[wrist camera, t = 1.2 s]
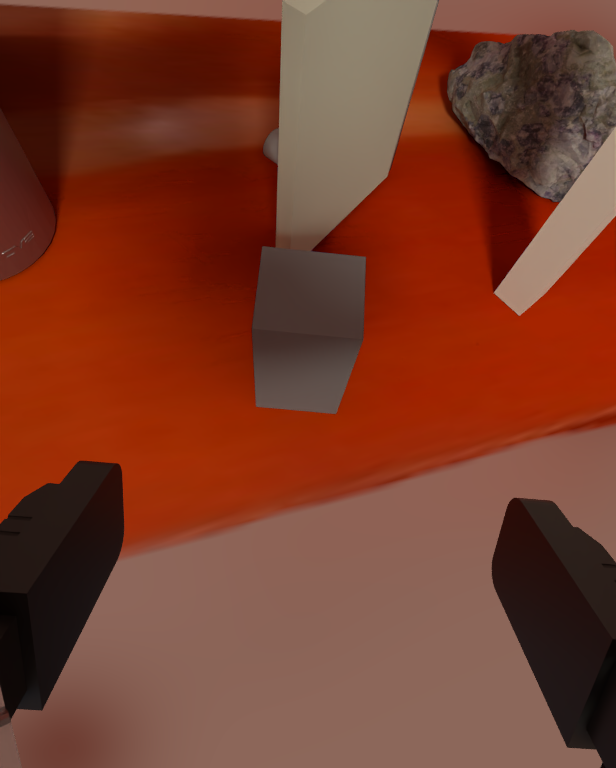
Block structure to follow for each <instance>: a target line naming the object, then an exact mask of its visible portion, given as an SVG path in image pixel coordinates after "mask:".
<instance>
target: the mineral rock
mask: <svg viewBox="0 0 616 768" xmlns="http://www.w3.org/2000/svg"><path fill="white" fill-rule="evenodd" d="M447 93H448V97H449V100H450V102H451V103H452V110H453V112H454V113H455V114H456V115H457V117H458V119H459V120H460V121H461V123H462V124H463V126H464V127H465V128H467V130H468V132H469V134H471V135H472V136H473V138H474V140H475V141H476V142H477V143H479V144H480V145H481V146H482V147H483V148H484V149H485V151H486V152H487V153H488V155H489V158H490V159H493V160H495V161H497V162H500V163H501V164H502V165H503V167H504V168H505V169H506V170H507V171H508V172H509V174H510V175H512V176H513V177H516V178H517V179H519V180H520V181H522V182H523V183H524V184H525V185H526V186H527V187H529V188H530V189H532V190H533V191H534V192H535V193H536V194H538V195H539V196H541V197H544V198H549V199H551V200H552V201H553V202H560V201H562V199H563V198H564V197H565V195H566V194H567V192H568V191H569V190H570V188H571V187H572V186H573V184H574V183H575V182H576V180H577V179H578V178H579V176H580V175H581V173H582V172H583V171H584V169H585V168H586V167H587V165H588V164H589V163H590V161H591V160H592V158H593V157H594V156H595V154H596V153H597V152H598V150H599V149H600V148H601V146H602V145H603V143H604V142H605V141H606V139H607V138H608V137H609V135H610V134H611V133H612V131H613V130H614V128H615V127H616V62H615V59H614V56H613V46H612V45H611V44H610V43H609V42H608V41H607V40H606V39H605V38H603V37H602V36H601V35H599V34H598V33H596V32H594V31H581V32H577V31H575V30H570V31H564V32H556V33H554V34H552V35H551V36H546V35H540V34H536V35H534V34H530V35H528V34H523V35H517V36H516V37H515V38H514V39H513V40H512V41H511V42H508V43H505V44H502V43H500V42H497V43H496V42H491V41H486V42H480V43H479V44H477V45H475V47H474V49H473V51H472V55H471V57H470V59H469V60H468V61H467V62H466V64H464V65H462V66H459V67H458V68H456V69H455V70H451V71H450V73H449V78H448V82H447Z"/></svg>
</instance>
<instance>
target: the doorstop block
mask: <svg viewBox="0 0 616 768" xmlns="http://www.w3.org/2000/svg"><path fill="white" fill-rule="evenodd" d="M365 269H366V257H361V256H351V255H342V254H332V253H322V252H313V251H303V250H293V249H284V248H274V247H264V246H262V253H261V261H260V269H259V277H258V285H257V293H256V300H255V308H254V316H253V324H252V340H253V358H254V377H255V395H256V407H267V408H278V409H289V410H300V411H311V412H322V413H333V414H336V412H337V410H338V407H339V404H340V401H341V399H342V396H343V393H344V390H345V388H346V385H347V382H348V380H349V377H350V374H351V371H352V369H353V366H354V363H355V361H356V358H357V355H358V352H359V350H360V347H361V344H362V341H363V331H364V300H365Z"/></svg>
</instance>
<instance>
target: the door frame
mask: <svg viewBox="0 0 616 768" xmlns="http://www.w3.org/2000/svg"><path fill="white" fill-rule="evenodd" d="M615 216H616V127H615V128H614V130H613V131H612V133H611V134H610V135H609V137H608V138H607V139H606V141H605V142H604V143H603V145H602V146H601V148H600V149H599V150H598V152H597V153H596V154H595V156H594V157H593V158H592V160H591V161H590V163H589V164H588V165H587V167H586V168H585V169H584V171H583V172H582V173H581V175H580V176H579V178H578V179H577V180H576V182H575V183H574V184H573V186H572V187H571V188H570V190H569V191H568V192H567V194H566V195H565V197H564V198H563V199H562V201H561V202H560V203H559V205H558V206H557V207H556V209H555V210H554V212H553V213H552V214H551V216H550V217H549V218H548V220H547V221H546V222H545V224H544V225H543V227H542V228H541V229H540V231H539V232H538V233H537V235H536V236H535V237H534V239H533V240H532V242H531V243H530V244H529V246H528V247H527V248H526V250H525V251H524V252H523V254H522V255H521V256H520V258H519V259H518V261H517V262H516V263H515V265H514V266H513V267H512V269H511V270H510V271H509V273H508V274H507V276H506V277H505V278H504V280H503V281H502V282H501V284H500V285H499V286H498V288H497V289H496V291H495V292H494V293H495V294H496V295H497V296H498V297H499V298H500V299H501V300H502V301H503V302H505V303H506V304H507V305H508V306H509V307H510V308H511V309H512V310H513V311H515V312H516V313H517V314H518V315H519V316H520V315H521V314H522V313H523V312H524V311H526V310H527V309H528V308H529V307H530V306H531V305H533V304H534V303H535V302H536V301H537V300H538V299H539V298H541V297H542V296H543V295H544V294H545V293H546V292H547V291H548V290H549V289H550V288H551V287H552V286H553V284H554V283H555V282H556V281H557V280H558V279H559V278H560V277H561V276H562V274H563V273H564V272H565V271H566V270H567V269H568V268H569V267H570V266H571V264H572V263H573V262H574V261H575V260H576V259H577V258H578V257H579V256H580V255H581V253H582V252H583V251H584V250H585V249H586V248H587V247H588V246H589V245H590V243H591V242H592V241H593V240H594V239H595V238H596V237H597V236H598V235H599V233H600V232H601V231H602V230H603V229H604V228H605V227H606V226H607V225H608V223H609V222H610V221H611V220H612V219H613V218H614V217H615Z"/></svg>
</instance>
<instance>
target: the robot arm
mask: <svg viewBox="0 0 616 768" xmlns="http://www.w3.org/2000/svg"><path fill="white" fill-rule="evenodd" d="M55 224H56V218H55V212H54V209H53V207H52V205H51V202H50V200H49V198H48V197H47V195H46V193H45V191H44V189H43V187H42V185H41V183H40V182H39V180H38V178H37V176H36V174H35V172H34V170H33V169H32V167H31V165H30V162H29V161H28V159H27V157H26V155H25V153H24V151H23V149H22V148H21V146H20V144H19V142H18V140H17V138H16V136H15V135H14V133H13V131H12V129H11V127H10V125H9V123H8V121H7V120H6V118H5V116H4V114H3V112H2V110H1V108H0V280H3V279H6V278H9V277H11V276H13V275H15V274H17V273H20V272H21V271H23V270H24V269H26V268H27V267H29V266H30V265H32V264H33V263H34V262H35V261H36V260H37V259H38V258H39V257H40V256H41V255H42V254H43V253H44V251H45V250H46V248H47V247H48V246H49V244H50V242H51V240H52V237H53V235H54V232H55ZM123 537H124V510H123V485H122V470H121V467H120V465H119V464H116V463H104V462H92V461H79V462H77V464H76V465H75V466H74V467H73V468H72V470H71V471H70V472H69V473H68V474H67V476H66V477H65V478H64V479H63V481H62V482H61V483H60V484H53V483H48V484H46V485H44V486H43V487H41V488H39V489H37V490H36V491H34V492H32V493H31V494H29V495H27V496H26V497H24V498H23V499H22V500H21V501H20V502H19V504H18V505H17V506H16V507H15V508H14V509H13V510H12V511H11V513H10V514H9V515H8V518H7V519H4V520H3V522H2V523H1V524H0V768H22V767H21V762H20V758H19V754H18V750H17V745H16V741H15V737H14V733H13V728H12V725H11V718H12V716H13V715H14V713H15V711H16V709H28V710H43V708H44V705H45V704H46V702H47V700H48V698H49V696H50V694H51V691H52V690H53V688H54V685H55V684H56V682H57V680H58V678H59V676H60V674H61V672H62V670H63V668H64V666H65V664H66V662H67V660H68V658H69V656H70V654H71V652H72V650H73V648H74V646H75V644H76V642H77V639H78V638H79V635H80V634H81V632H82V629H83V628H84V626H85V624H86V622H87V620H88V618H89V615H90V614H91V612H92V610H93V608H94V606H95V604H96V602H97V600H98V598H99V596H100V593H101V591H102V590H103V588H104V586H105V583H106V582H107V579H108V577H109V575H110V573H111V571H112V570H113V567H114V566H115V564H116V562H117V559H118V557H119V554H120V551H121V547H122V543H123ZM492 579H493V584H494V587H495V590H496V592H497V595H498V597H499V599H500V601H501V603H502V606H503V608H504V610H505V612H506V614H507V616H508V619H509V621H510V623H511V625H512V627H513V630H514V632H515V634H516V636H517V638H518V641H519V643H520V645H521V647H522V649H523V652H524V654H525V656H526V658H527V660H528V663H529V665H530V667H531V669H532V671H533V673H534V676H535V678H536V680H537V682H538V684H539V687H540V689H541V691H542V693H543V695H544V697H545V699H546V702H547V704H548V706H549V708H550V711H551V713H552V715H553V717H554V719H555V721H556V724H557V726H558V728H559V730H560V733H561V735H562V737H563V739H564V741H565V743H566V746H567V747H568V748H582V749H596V750H597V752H598V754H599V756H600V757H601V760H602V761H603V762H602V765H601V767H600V768H616V562H615V561H614V560H613V558H612V557H611V556H610V555H609V554H608V552H607V551H606V550H605V549H604V547H603V546H602V545H601V544H600V543H598V542H597V541H596V540H594V539H593V538H592V537H590V536H589V535H588V534H586V533H585V532H584V531H582V530H581V529H580V528H578V527H573V526H572V525H571V524H570V522H569V521H568V520H567V518H566V517H565V516H564V514H563V513H562V512H561V510H560V509H559V508H558V506H557V505H556V504H555V503H554V502H552V501H548V500H536V499H524V498H513V499H512V500H511V501H510V502H509V504H508V506H507V509H506V513H505V516H504V520H503V524H502V527H501V531H500V534H499V538H498V541H497V545H496V548H495V552H494V555H493V560H492Z"/></svg>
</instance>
